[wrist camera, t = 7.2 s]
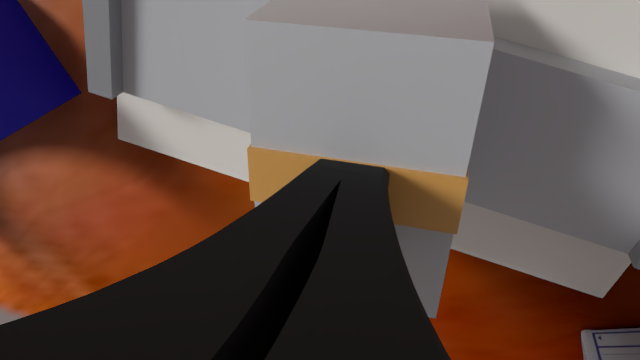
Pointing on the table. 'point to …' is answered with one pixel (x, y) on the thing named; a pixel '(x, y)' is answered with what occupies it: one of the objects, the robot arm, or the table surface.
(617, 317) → the table surface
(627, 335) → the medicine box
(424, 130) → the block
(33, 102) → the cable clip
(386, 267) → the robot arm
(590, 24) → the rail board
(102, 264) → the table surface
